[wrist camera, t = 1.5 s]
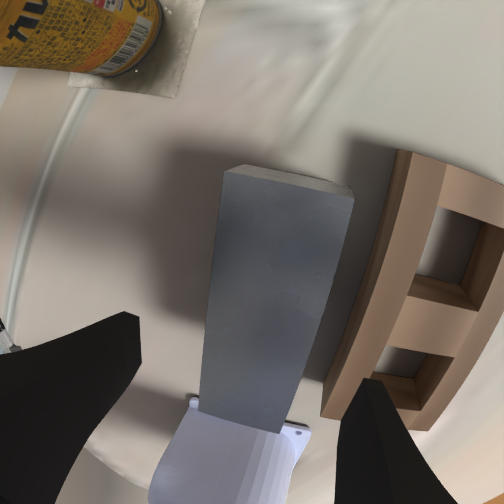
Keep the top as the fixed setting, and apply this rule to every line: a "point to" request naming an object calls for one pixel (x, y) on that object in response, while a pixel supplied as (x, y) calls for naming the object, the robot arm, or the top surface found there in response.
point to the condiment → (102, 41)
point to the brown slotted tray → (422, 294)
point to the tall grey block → (268, 290)
